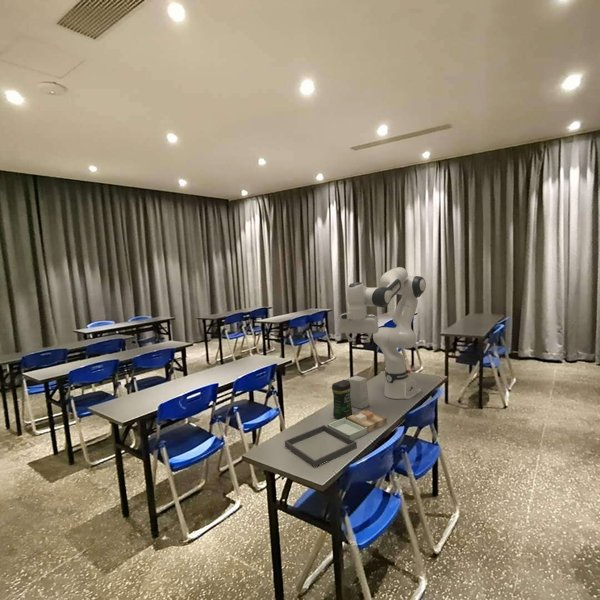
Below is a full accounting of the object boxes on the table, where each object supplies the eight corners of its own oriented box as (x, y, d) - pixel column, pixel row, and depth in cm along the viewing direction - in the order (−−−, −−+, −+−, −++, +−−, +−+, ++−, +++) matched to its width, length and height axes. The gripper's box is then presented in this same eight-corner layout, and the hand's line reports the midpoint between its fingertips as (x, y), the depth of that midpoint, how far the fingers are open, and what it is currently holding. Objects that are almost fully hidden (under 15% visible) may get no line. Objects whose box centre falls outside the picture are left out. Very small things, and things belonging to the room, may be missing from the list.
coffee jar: (342, 421, 178) (340, 385, 176) (331, 417, 184) (328, 382, 182) (355, 415, 185) (353, 380, 183) (343, 411, 191) (341, 377, 189)
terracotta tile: (367, 414, 177) (367, 410, 177) (373, 417, 174) (373, 413, 174) (361, 417, 175) (361, 413, 175) (367, 419, 172) (367, 415, 172)
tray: (345, 423, 177) (344, 417, 176) (367, 433, 164) (367, 427, 164) (328, 430, 170) (327, 424, 170) (349, 442, 158) (349, 435, 158)
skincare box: (369, 405, 195) (367, 378, 193) (361, 409, 191) (359, 381, 189) (357, 402, 201) (355, 375, 200) (349, 405, 197) (347, 378, 196)
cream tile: (361, 417, 175) (360, 413, 175) (366, 419, 172) (366, 415, 171) (354, 419, 173) (354, 415, 172) (360, 422, 169) (360, 418, 169)
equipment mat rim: (324, 429, 171) (324, 424, 171) (356, 447, 153) (356, 441, 153) (285, 446, 159) (284, 440, 159) (315, 467, 141) (314, 461, 140)
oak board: (365, 415, 184) (365, 409, 183) (386, 423, 172) (386, 417, 172) (346, 423, 176) (346, 417, 176) (367, 432, 165) (366, 426, 165)
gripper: (379, 313, 179) (380, 340, 181) (340, 314, 189) (342, 339, 190) (376, 315, 174) (377, 343, 175) (336, 316, 183) (338, 342, 184)
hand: (359, 341), depth 183 cm, fingers open, 8 cm apart
